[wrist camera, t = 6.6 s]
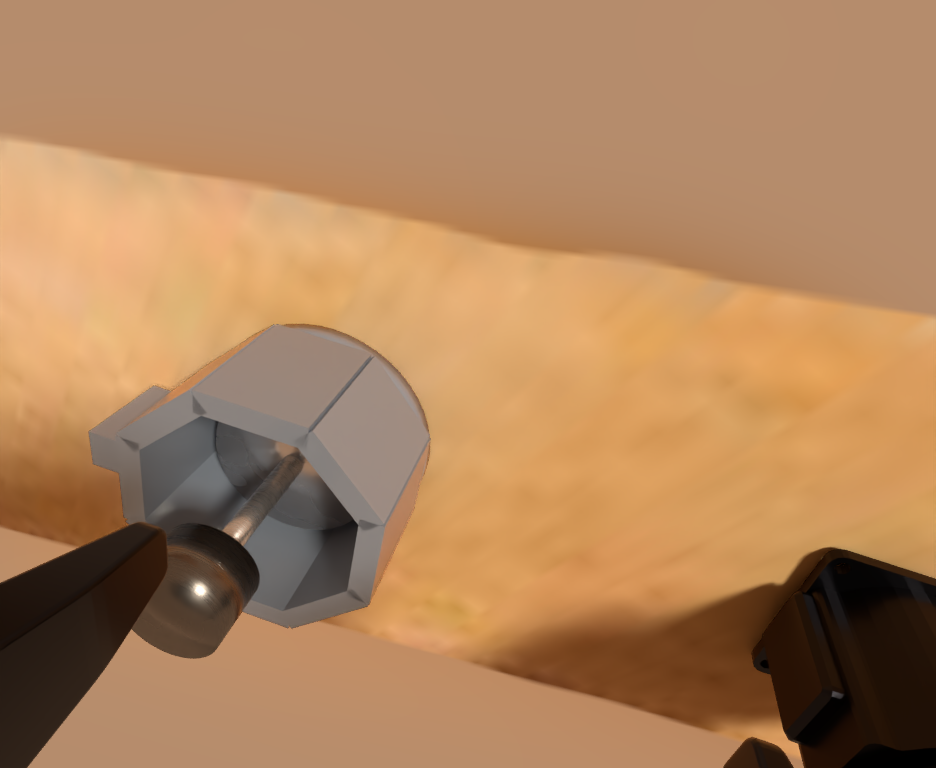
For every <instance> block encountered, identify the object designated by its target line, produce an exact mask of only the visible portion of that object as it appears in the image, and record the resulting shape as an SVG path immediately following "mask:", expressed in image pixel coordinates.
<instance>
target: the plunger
mask: <svg viewBox="0 0 936 768" xmlns="http://www.w3.org/2000/svg"><path fill="white" fill-rule="evenodd" d="M216 448H217V453H218V457H219V460H220V463H221V465H222V467H223V470H224V472H225V474H226V475H227V477H228V478H229V480H230V482H231V483H232V484H233V486H234V487H235V488H236V490H237V491H238V492H239V493H240V494H241V495H242V496H243V497H244V498H245V499H246V500H247V501H246V503H245V504H244V505H243V506H242V507H241V508H240V510H239V511H238V512H237V513H236V514H235V516H234V517H233V518H232V519H231V520H230V521H229V523H228V524H227V525H226V526H225V527H224V529H223V530H222V531H221V530H219V529H217V528H214V527H211V526H208V525H204V524H199V523H186V524H181V525H178V526H176V527H174V528H173V529H172V530H171V531H170V532H169V533H168V534H167V550H168V569H167V572H166V575H165V577H164V579H163V581H162V582H161V584H160V585H159V587H158V588H157V590H156V591H155V593H154V595H153V596H152V598H151V599H150V601H149V602H148V604H147V605H146V607H145V608H144V610H143V612H142V613H141V615H140V616H139V618H138V619H137V621H136V622H135V624H134V625H133V627H132V628H131V629H132V630H133V631H134V632H135V633H136V634H137V635H139V636H140V637H141V638H142V639H144V640H145V641H146V642H148V643H149V644H151V645H153V646H154V647H157V648H158V649H160V650H162V651H164V652H167V653H169V654H172V655H175V656H179V657H184V658H202V657H206V656H209V655H210V654H212V653H213V652H214V651H215V650H216V649H217V648H218V646H219V645H220V643H221V642H222V640H223V639H224V637H225V636H226V634H227V633H228V631H229V630H230V629H231V627H232V626H233V624H234V623H235V621H236V620H237V619H238V617H239V616H240V614H241V613H242V611H243V610H244V608H245V607H246V606H247V604H248V603H249V601H250V600H251V598H252V597H253V595H254V594H255V592H256V591H257V589H258V587H259V583H260V574H259V570H258V567H257V565H256V563H255V561H254V559H253V558H252V556H251V555H250V553H249V552H248V551H247V550H246V549H245V548H244V547H243V546H244V545H245V543H246V542H247V541H248V540H249V538H250V537H251V536H252V534H253V533H254V532H255V531H256V529H257V528H258V527H259V525H260V524H261V523H262V522H263V520H264V519H265V518H266V516H267V515H268V516H270V517H271V518H273V519H275V520H277V521H280V522H282V523H285V524H287V525H291V526H294V527H298V528H303V529H312V530H325V529H331V528H336V527H339V526H342V525H344V524H346V523H348V522H350V521H351V520H353V517H352V516H351V515H350V514H349V512H348V511H347V510H346V509H345V507H344V506H343V505H342V504H341V502H340V501H339V500H338V498H337V497H336V496H335V495H334V493H333V492H332V491H331V490H330V488H329V487H328V486H327V484H326V483H325V482H324V481H323V479H322V478H321V477H320V476H319V474H318V473H317V472H316V470H315V469H314V468H313V467H312V465H311V464H310V463H309V462H308V460H307V459H306V458H305V457H304V455H303V454H302V453H301V451H300V450H299V449H298V448H296V447H294V446H291V445H288V444H285V443H282V442H279V441H276V440H273V439H270V438H267V437H264V436H261V435H258V434H255V433H252V432H249V431H246V430H243V429H240V428H237V427H234V426H231V425H228V424H225V423H222V422H219V423H218V426H217V430H216Z"/></svg>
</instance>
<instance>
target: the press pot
mask: <svg viewBox="0 0 936 768" xmlns="http://www.w3.org/2000/svg"><path fill="white" fill-rule="evenodd" d="M219 422H222V423H225V424H228V425H231V426H234V427H237V428H240V429H243V430H246V431H249V432H252V433H255V434H258V435H261V436H264V437H267V438H270V439H273V440H276V441H279V442H282V443H285V444H288V445H291V446H294V447H296V448H298V449H299V450H300V451H301V453H302V454H303V455H304V457H305V458H306V459H307V460H308V462H309V463H310V464H311V465H312V467H313V468H314V469H315V470H316V472H317V473H318V474H319V476H320V477H321V478H322V479H323V481H324V482H325V483H326V484H327V486H328V487H329V488H330V490H331V491H332V492H333V493H334V495H335V496H336V497H337V498H338V500H339V501H340V502H341V504H342V505H343V506H344V507H345V509H346V510H347V511H348V512H349V514H350V515H351V516H352V517H353V520H351V521H350V522H348V523H346V524H344V525H342V526H339V527H336V528H331V529H325V530H312V529H303V528H298V527H294V526H291V525H287V524H285V523H282V522H280V521H277V520H275V519H273V518H271V517H270V516H268V515H267V516H266V518H265V519H264V520H263V522H262V523H261V524H260V525H259V527H258V528H257V529H256V531H255V532H254V533H253V534H252V536H251V537H250V538H249V540H248V541H247V542H246V543H245V545H244V546H243V547H244V548H245V549H246V550H247V551H248V552H249V553H250V555H251V556H252V558H253V559H254V561H255V563H256V565H257V567H258V570H259V574H260V583H259V587H258V589H257V591H256V592H255V594H254V595H253V597H252V598H251V600H250V601H249V603H248V604H247V606H246V607H245V608H244V610H243V611H242V612H245V613H247V614H250V615H253V616H256V617H258V618H261V619H264V620H267V621H270V622H272V623H275V624H278V625H281V626H283V627H286V628H289V626H290V627H291V628H296V627H299V626H302V625H306V624H309V623H313V622H316V621H319V620H323V619H326V618H330V617H333V616H337V615H340V614H343V613H347V612H350V611H354V610H357V609H361V608H364V607H367V606H368V604H370V602H371V600H372V598H373V596H374V594H375V592H376V589H377V587H378V585H379V583H380V581H381V579H382V577H383V574H384V572H385V570H386V568H387V566H388V564H389V562H390V560H391V557H392V555H393V553H394V551H395V549H396V547H397V545H398V542H399V540H400V538H401V536H402V534H403V532H404V530H405V527H406V525H407V523H408V521H409V519H410V517H411V515H412V513H413V510H414V508H415V504H416V499H417V495H418V491H419V486H420V482H421V480H422V478H423V476H424V474H425V471H426V468H427V465H428V461H429V454H430V439H431V438H430V434H429V429H428V424H427V420H426V417H425V414H424V411H423V409H422V407H421V404H420V402H419V400H418V398H417V396H416V395H415V393H414V391H413V390H412V388H411V386H410V385H409V384H408V382H407V381H406V380H405V378H404V377H403V376H402V375H401V373H400V372H399V371H398V370H397V369H396V368H395V367H394V366H393V365H392V364H391V363H390V362H389V361H388V360H387V359H385V358H384V357H383V356H382V355H380V354H379V353H378V352H377V351H375V350H374V349H372V348H371V347H369V346H368V345H366V344H365V343H363V342H361V341H359V340H357V339H355V338H353V337H351V336H349V335H347V334H344V333H342V332H339V331H336V330H334V329H330V328H326V327H322V326H317V325H309V324H286V325H279V324H276V325H274V324H273V325H272V326H270V327H268V328H267V329H265V330H262V331H260V332H258V333H256V334H254V335H252V336H251V337H250V338H248V339H247V340H245V341H244V342H243V343H241V344H240V345H239V346H237V347H235V348H234V349H232V350H230V351H229V352H227V353H226V354H224V355H222V356H221V357H219V358H217V359H216V360H214V361H212V362H211V363H209V364H208V365H206V366H205V367H204V368H202V369H201V370H200V371H198V372H197V373H196V374H194V375H193V376H192V377H190V378H189V379H188V380H186V381H185V382H184V383H182V384H181V385H180V386H178V387H177V388H176V389H174V390H173V391H169V390H166V389H163V388H160V387H157V386H153V387H151V388H150V389H148V390H147V391H145V392H144V393H143V394H141V395H140V396H138V397H137V398H135V399H134V400H133V401H131V402H130V403H128V404H127V405H126V406H124V407H123V408H121V409H120V410H118V411H117V412H116V413H114V414H113V415H111V416H110V417H109V418H107V419H106V420H104V421H103V422H101V423H100V424H99V425H97V426H96V427H94V428H93V429H92V430H90V431H89V438H90V445H91V453H92V460H93V464H94V465H97V466H100V467H103V468H106V469H109V470H112V471H114V472H117V473H119V478H120V487H121V497H122V506H123V516H124V518H126V519H127V520H126V522H127V523H128V524H129V525H130V524H133V523H136V522H146V523H149V524H152V525H155V526H157V527H160V528H162V529H164V530H165V532H166V535H167V534H168V533H169V532H170V531H171V530H172V529H173V528H174V527H176V526H178V525H181V524H186V523H199V524H204V525H208V526H211V527H214V528H217V529H219V530H221V531H222V530H223V529H224V527H225V526H226V525H227V524H228V523H229V521H230V520H231V519H232V518H233V517H234V516H235V514H236V513H237V512H238V511H239V510H240V508H241V507H242V506H243V505H244V504H245V503H246V501H247V500H246V499H245V498H244V497H243V496H242V495H241V494H240V493H239V492H238V491H237V490H236V488H235V487H234V486H233V484H232V483H231V482H230V480H229V478H228V477H227V475H226V474H225V472H224V470H223V467H222V465H221V463H220V460H219V457H218V453H217V448H216V430H217V426H218V423H219Z"/></svg>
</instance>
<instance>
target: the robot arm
mask: <svg viewBox="0 0 936 768" xmlns="http://www.w3.org/2000/svg"><path fill="white" fill-rule="evenodd" d="M839 563H845V564H844V565H840V566H837V564H839ZM167 569H168V550H167V535H166V532H165V530H164V529H162V528H160V527H157V526H155V525H152V524H149V523H146V522H136V523H133V524H130V525H128V526H126V527H124V528H121V529H119V530H117V531H115V532H112V533H110V534H108V535H106V536H104V537H101V538H99V539H97V540H95V541H92V542H90V543H88V544H86V545H84V546H81V547H79V548H77V549H75V550H73V551H70V552H68V553H66V554H64V555H62V556H59V557H57V558H55V559H52V560H50V561H48V562H46V563H43V564H41V565H39V566H37V567H35V568H32V569H30V570H28V571H26V572H23V573H21V574H19V575H17V576H15V577H12V578H10V579H8V580H6V581H4V582H1V583H0V768H27V767H28V766H29V765H30V763H31V762H32V761H33V759H34V758H35V757H36V756H37V754H38V753H39V752H40V751H41V749H42V748H43V747H44V746H45V744H46V743H47V742H48V741H49V739H50V738H51V737H52V736H53V734H54V733H55V732H56V731H57V729H58V728H59V727H60V726H61V724H62V723H63V721H65V719H66V718H67V717H68V715H69V714H70V713H71V712H72V710H73V709H74V708H75V707H76V705H77V704H78V703H79V702H80V700H81V699H82V698H83V697H84V695H85V694H86V693H87V692H88V690H89V689H90V688H91V687H92V685H93V684H94V683H95V681H96V680H97V679H98V677H99V676H100V675H101V673H102V672H103V671H104V669H105V668H106V666H107V665H108V663H109V662H110V661H111V659H112V658H113V656H114V655H115V653H116V652H117V650H118V648H119V647H120V645H121V644H122V642H123V641H124V639H125V638H126V636H127V635H128V633H129V632H130V630H131V628H132V627H133V625H134V624H135V622H136V621H137V619H138V618H139V616H140V615H141V613H142V612H143V610H144V608H145V607H146V605H147V604H148V602H149V601H150V599H151V598H152V596H153V595H154V593H155V591H156V590H157V588H158V587H159V585H160V584H161V582H162V581H163V579H164V577H165V575H166V572H167ZM751 655H752V659H753V664H754V667H755V668H756V669H757V670H759V671H761V672H764V673H767V674H770V675H771V677H772V682H773V686H774V691H775V695H776V699H777V704H778V708H779V712H780V717H781V721H782V726H783V730H784V732H785V734H786V736H787V738H788V740H790V741H792V742H795V743H798V745H799V749H800V753H801V757H802V761H803V765H804V768H936V579H935V578H931V577H928V576H925V575H922V574H919V573H916V572H913V571H910V570H907V569H903V568H900V567H897V566H894V565H891V564H888V563H885V562H882V561H879V560H876V559H872V558H869V557H866V556H863V555H860V554H857V553H854V552H851V551H848V550H842V549H838V550H833V551H830V552H828V553H827V554H826V555H825V556H824V557H823V558H822V560H821V561H820V562H819V564H818V565H817V566H816V568H815V569H814V570H813V572H812V573H811V574H810V576H809V577H808V578H807V580H806V581H805V582H804V584H803V585H802V586H801V588H800V589H799V590H798V591H797V592H796V593H794V594H793V595H792V596H791V597H790V598H789V600H788V601H787V602H786V604H785V605H784V606H783V608H782V609H781V610H780V612H779V613H778V614H777V616H776V617H775V618H774V620H773V621H772V622H771V624H770V625H769V626H768V628H767V629H766V630H765V632H764V633H763V635H762V639H761V641H760V642H759V643H758V645H757V646H756V647H755V649H754V650H753V651H752V654H751ZM766 659H767V660H766ZM723 768H794V767H793V766H792V764H791V762H790V761H789V759H788V757H787V756H786V754H785V753H784V752H783V751H782V749H781V748H779V747H778V746H776V745H774V744H772V743H769V742H766V741H763V740H760V739H757V738H754V737H751V738H747V739H746V740H745V741H744V742H743V743H742V745H741V746H740V747H739V748H738V749H737V751H736V752H735V753H734V754H733V755H732V756H731V757H730V759H729V760H728V761H727V762H726V764H725V765H724V767H723Z"/></svg>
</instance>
